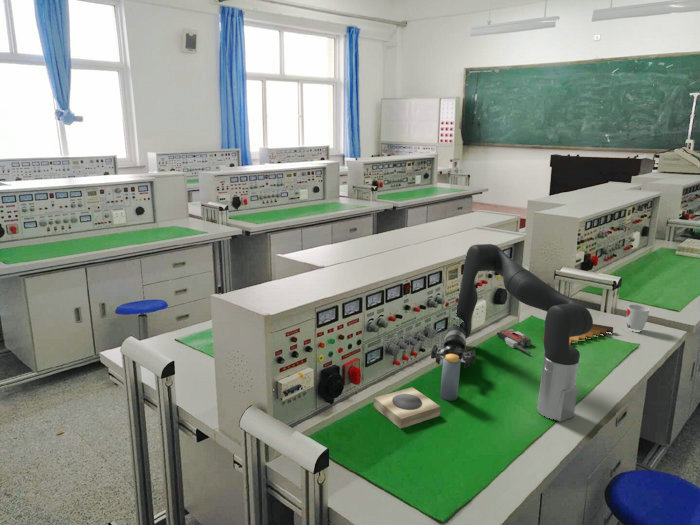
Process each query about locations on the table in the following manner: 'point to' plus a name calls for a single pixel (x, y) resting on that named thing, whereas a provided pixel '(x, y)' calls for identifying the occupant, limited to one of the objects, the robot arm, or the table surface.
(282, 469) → the table surface
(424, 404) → the display riser
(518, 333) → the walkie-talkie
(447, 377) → the can
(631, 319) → the cup
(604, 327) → the pan flute
